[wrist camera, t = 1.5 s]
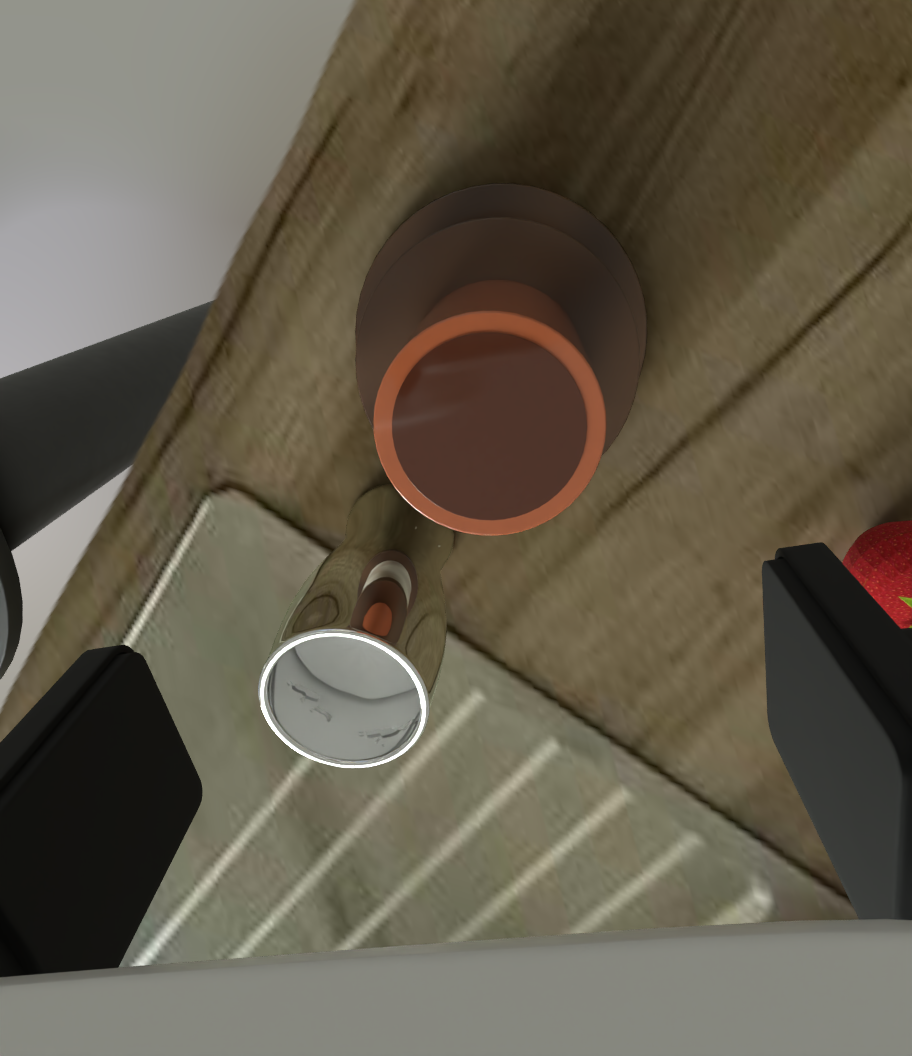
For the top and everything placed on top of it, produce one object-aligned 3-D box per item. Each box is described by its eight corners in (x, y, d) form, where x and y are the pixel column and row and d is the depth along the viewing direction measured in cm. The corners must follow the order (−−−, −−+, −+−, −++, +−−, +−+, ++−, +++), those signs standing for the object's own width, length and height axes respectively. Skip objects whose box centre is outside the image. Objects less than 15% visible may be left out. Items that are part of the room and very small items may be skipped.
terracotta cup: (372, 377, 30) (326, 437, 23) (490, 238, 27) (480, 256, 20) (500, 487, 32) (494, 576, 24) (622, 366, 29) (657, 425, 22)
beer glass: (430, 604, 43) (389, 797, 29) (322, 554, 42) (228, 730, 28) (483, 508, 40) (466, 674, 26) (368, 452, 39) (289, 594, 25)
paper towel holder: (304, 349, 37) (260, 382, 30) (490, 110, 32) (484, 90, 25) (506, 520, 40) (504, 583, 34) (704, 329, 35) (745, 360, 28)
